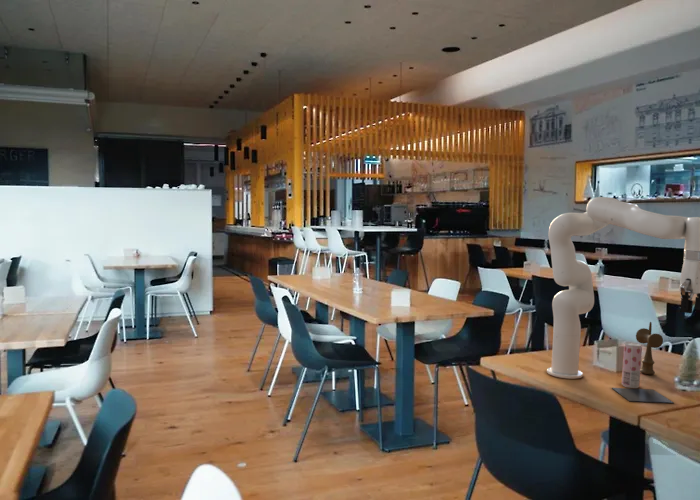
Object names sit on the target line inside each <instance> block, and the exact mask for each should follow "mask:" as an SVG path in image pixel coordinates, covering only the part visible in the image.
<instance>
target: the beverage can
mask: <svg viewBox="0 0 700 500" xmlns="http://www.w3.org/2000/svg"><path fill="white" fill-rule="evenodd" d="M642 345H643V344H642V343H639V342H632V341H630V342H629V341H628V342H627V341H626V342H624V345H623V355H622V357H623V358H622V368H621V369H622V370H621V371H622V372H621V385H622V387H623V388H629V389H639V388H640V385H641V372H640V370H641V369H642V354H643V352H642V351H643V347H642Z"/></svg>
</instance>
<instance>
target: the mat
mask: <svg viewBox="0 0 700 500" xmlns="http://www.w3.org/2000/svg"><path fill="white" fill-rule="evenodd" d="M611 389H612V390H613V391H614V392H615V393H617V394H618V395H620V396H621V397H622V398H623V399H625V400H626V401H628V402H629V403H652V404H675V403H674V402H673V401H672V400H671V399H669V398H668V397H666V396H664V395H662V393H659V392H658V391H656V390H655V389H650V388H649V389H648V388H647V389H646V388H628V387H612V388H611Z"/></svg>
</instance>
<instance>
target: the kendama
mask: <svg viewBox="0 0 700 500" xmlns="http://www.w3.org/2000/svg"><path fill="white" fill-rule="evenodd" d="M652 323H653V322H652V321H650V322H649V324H648V325H649V326H648V328H644V327H642V328H639V329H638V330H637V331H636V333H635V340H636V341H637V343H638V344H642V345H644V344H646V349H645V353H644V357H643V359H641V364H642V365H641V370H640V374H644V375H649V376H651V375H655V374H656V373H655V370H654V364H655V363H656V362H655V361H654V358H653V352H652V348H654V349H658V348H661V347H662V346H663V345H664V344H663V343H664V338H663V335H661V334H660V333H658V332H657V333H656V332H655V333H652V327H653V326H652V325H653V324H652Z"/></svg>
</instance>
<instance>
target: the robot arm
mask: <svg viewBox="0 0 700 500" xmlns="http://www.w3.org/2000/svg"><path fill="white" fill-rule="evenodd" d="M609 225H613V226H615V227H619V228H623V229H627V230H629V231H632V232H635V233H638V234H641V235H644V236H645V235H646V236H648V237H649V236H650V237H652V238H657V239H661V240H684V249H683V262H682V263H683V264H682V266H681V267H682V268H681V273H680V280H679V292H680V308H679V309H680V312H681V313H686V314H692V313H693V306H694V310H695V311H696V310H697V311H700V216H692V217H691V216H690V217H688V216H683V215H671V214H661V213H658V212H653V211H649V210H645V209H642V208H641V207H639V205H637V204H635V203H630V202H625V201H622V200H619V199H617V198H614V197H608V196H596V197H593V198H592V199H590V200H589V201H588V202H587V204H586V211H585V212H565V213H562V214H559V215H558V216H556V217H555V218H554V219H553V220H552V221H551V222H550V225H549V228H548V233H547V234H548V235H547V236H548V242H549V248H550V258H551V268H552V277H553V280H554V282H555V284H557V285H559V286H561V287H568V289H564V290H561V291H559V292H557V293H556V294H555V295H554V296H553V298H552V302H551V309H552V317H553V328H552V330H553V331H552V348H551V349H552V350H551V366H550V367H547V369H546V373H547V374H548V375H550V376H552V377H556V378H560V379H567V380H568V379H570V380H575V379H581V378H583V376H584V375H583V374H584V373H583V372H582V371H581V370H579V369H580V368H579V366H580V365H579V364H580V349H581V336H582V335H581V333H582V332H581V331H582V324H581V321H580V320H581V319H580V315H584V314H587V313H589V312H591V310H593V307H594V305H595V293H594V285H593V284H594V282H593V275H592V271H591V268H590V266H589V265H588V264H587V263H586V262H585V261H583V260H580V259H577V257H576V247H575V245H574V243H573V240H572V237H586V236H590V235H592V234H595V233H596V232H598V231H600V230H602V229H604V228H605V227H607V226H609ZM694 295H696V296H695V301H694V300H693V297H694Z"/></svg>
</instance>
